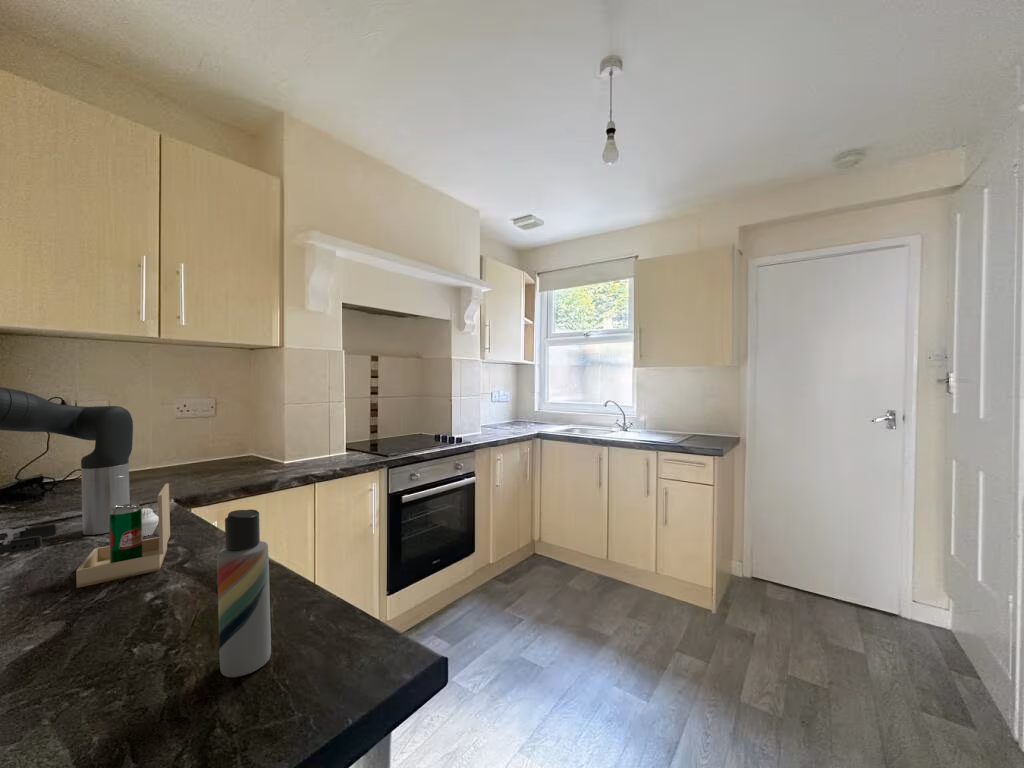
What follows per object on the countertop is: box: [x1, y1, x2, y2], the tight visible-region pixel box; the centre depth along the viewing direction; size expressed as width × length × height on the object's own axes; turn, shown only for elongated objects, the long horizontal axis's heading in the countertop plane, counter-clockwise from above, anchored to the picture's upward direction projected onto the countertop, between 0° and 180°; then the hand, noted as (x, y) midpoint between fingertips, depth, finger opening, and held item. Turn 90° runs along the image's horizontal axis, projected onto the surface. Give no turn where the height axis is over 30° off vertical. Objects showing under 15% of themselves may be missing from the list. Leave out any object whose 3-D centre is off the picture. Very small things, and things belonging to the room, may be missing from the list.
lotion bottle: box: [216, 509, 272, 678], centre depth 55 cm, size 6×6×20 cm
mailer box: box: [75, 483, 171, 589], centre depth 88 cm, size 14×13×15 cm
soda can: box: [108, 503, 143, 563], centre depth 88 cm, size 5×5×12 cm
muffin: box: [141, 507, 159, 538], centre depth 107 cm, size 6×6×7 cm
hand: (49, 535), depth 81 cm, fingers open, 8 cm apart
